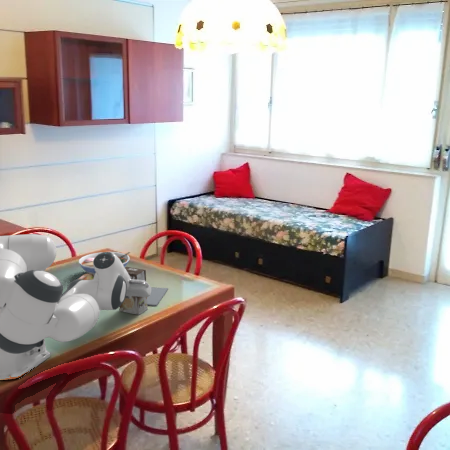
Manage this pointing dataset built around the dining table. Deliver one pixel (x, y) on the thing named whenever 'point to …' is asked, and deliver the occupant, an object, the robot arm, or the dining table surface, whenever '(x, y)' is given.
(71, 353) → the dining table surface
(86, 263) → the ramen bowl
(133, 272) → the coffee box
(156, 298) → the mat
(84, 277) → the tin
